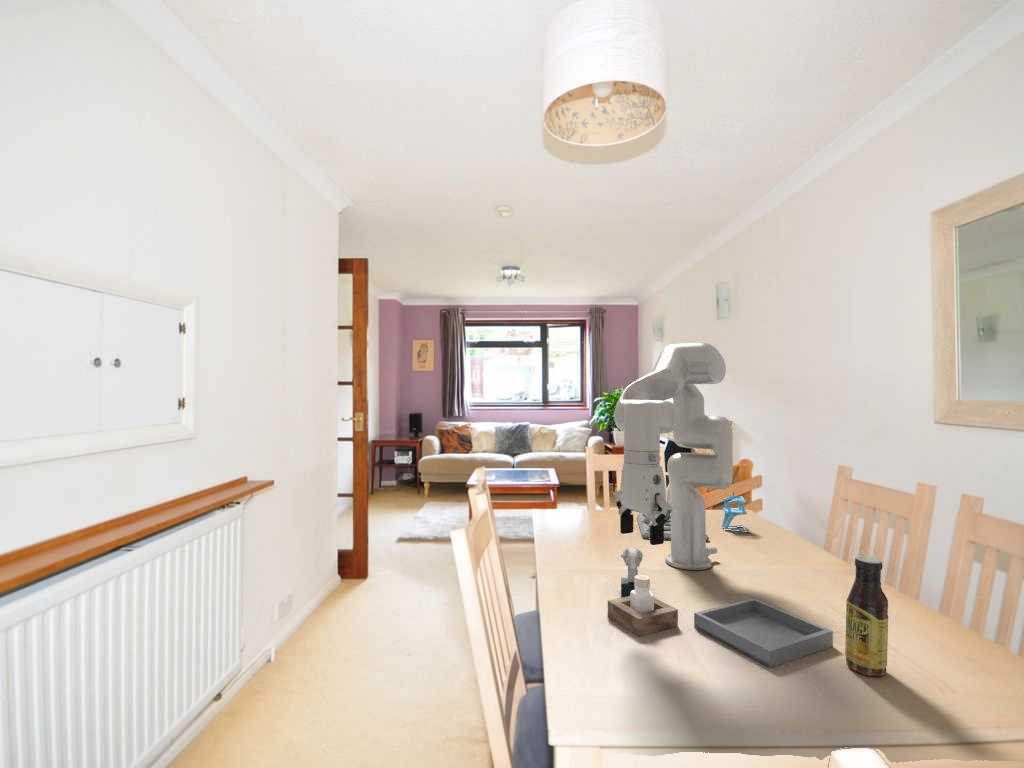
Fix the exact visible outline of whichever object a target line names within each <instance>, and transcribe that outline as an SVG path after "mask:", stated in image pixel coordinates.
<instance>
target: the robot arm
mask: <svg viewBox="0 0 1024 768" xmlns="http://www.w3.org/2000/svg"><path fill="white" fill-rule="evenodd" d="M725 361H726V360H725V359H724V356H723V355H722V354H721V352H720V351H719V350H718V349H717V348H716V347H715V346H714V345H713V344H710V343H706V342H689V343H673V344H669V345H667V346H665V347H664V348H663V349H662V350H661V352H660V353H659V355H658V357H657V360H656V362H655V364H654V366H653V368H652V371H651V373H648V374H646V375H644V376H643V377H640V378H639V379H636V381H633V382H632V383H631V384H629V385H628V386H626V387H625V388H624V389H623V391H622V393H621V394H620V395H619V396H620V397H619V398H618V400H617V403H616V405H615V408H614V413H613V419H614V423H615V426H616V428H618V430H620V431H622V432H623V465H622V470H621V479H620V489H619V490H617V491H615V492H614V498H615V501H616V503H615V504H616V507H617V509H618V515H619V517H620V519H619V520H620V521H619V522H620V527H619V529H620V534H622V535H624V534H625V535H626V534H632V533H634V514H632V512H633V511H634V512H637V513H641V514H648V516H649V518H650V520H651V522H652V524H653V525H650V539H649V544H650V545H651V546H657V545H663V544H664V542H665V540H664V525H666V522H667V520H668V519H669V517H670V516H669V515H671V540H670V553H668V554H666V555H665V557H664V561H665V563H666V564H667V565H668V566H671V567H674V568H677V569H681V570H682V569H683V570H686V571H687V570H689V571H702V570H706V569H710V568H711V567H712V560H711V559H710V558H709V557H710V555H716V554H718V548H717V547H716V546H711V547H710V546H709V547H708V546H706V545H707V543H706V542H707V541H706V535H707V533H706V529H707V528H706V525H707V524H706V520H707V519H706V507H707V506H706V501H705V499H704V496H703V495H702V494H701V492H700V491H699V488H702V489H714V490H727V489H728V488H729V487H731V485H732V481H733V474H734V473H733V471H734V469H733V464H734V462H733V461H734V460H733V459H734V458H733V457H734V456H733V455H734V453H733V452H734V451H733V447H734V445H733V443H734V441H733V440H734V439H733V428H732V427H733V426H732V423H731V421H730V420H729V419H728V418H727V417H725V416H721V415H707V414H705V398H704V395H703V394H702V392H701V391H700V389H699V388H698V386H696V385H717V384H719V383H721V382H722V381H723V380H724V378H725V376H726V373H727V370H726V366H727V365H726V362H725ZM670 399H672V401H673V402H671V401H668V400H670ZM670 433H672V434H673V435H672V437H673V442H674V444H676V446H678V447H680V448H686V449H695V450H696V449H697V450H699V449H700V450H711V451H713V452H714V454H711V453H697V452H678V453H673V455H670V457H669V458H668V460H667V463H666V468H667V469H666V470H667V475H668V481H669V482H668V483H669V490H670V492H669V493H670V502H668V501H667V491H666V482H665V476H664V470H663V467H662V466H661V459H662V458H661V456H660V455H661V452H660V451H661V445H660V444H661V442H660V441H661V439H660V438H661V437H660V435H661V434H662V435H664V434H670ZM655 515H657V516H658V517H657V518H656V517H655Z"/></svg>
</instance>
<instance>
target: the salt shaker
mask: <svg viewBox="0 0 1024 768" xmlns="http://www.w3.org/2000/svg"><path fill="white" fill-rule="evenodd" d="M650 580H651V579H650V576H648V575H645V574H638V575H636V576H635V577H634V586H635V590H632V591H631V592H630V608H631V609H633V610H635V611H637V612H638V613H645V612H649V611H653V610H654V598H655V596H654V593H653V592H651V591H650V586H651V585H650V584H651V582H650Z"/></svg>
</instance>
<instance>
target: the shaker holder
mask: <svg viewBox="0 0 1024 768" xmlns="http://www.w3.org/2000/svg"><path fill="white" fill-rule="evenodd" d="M607 618H609V619H610V620H612V621H614V623H615V622H616V623H617V624H619V626H622V627H623V628H624V629H626V630H628V631H629V632H631V633H633V634H634V635H636V636H638V637H642V636H643V637H644V636H647V635H651V634H654V633H657V632H662V631H666V630H669V629H670V630H671V629H672V628H673V629H674V628H676V627H678V626H679V622H678V621H679V609H677V608H676V607H673V606H671V604H670V605H669V604H668V603H666V602H664V601H662V600H660V599H658V598H657V597H654V610H653V611H649V612H645V613H638V612H637V611H635V610H633V609H631V608H630V596H627V597H618V598H614V599H610V600H607ZM646 634H647V635H646Z"/></svg>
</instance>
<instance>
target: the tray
mask: <svg viewBox="0 0 1024 768" xmlns="http://www.w3.org/2000/svg"><path fill="white" fill-rule="evenodd" d="M693 617H694V619H693V628H695V629H696V630H698V631H701V632H702V633H704V634H706V635H708V636H710V637H712V638H713V639H714V640H715V639H716V640H717V641H718V642H721V643H723V644H725V645H727V646H728V647H730V648H731V649H733V650H736V651H737V652H738V653H742V654H743V655H745V656H747V657H748V658H751V659H753V660H754V661H756V662H758V663H760V664H762V665H764V666H765V667H767V668H769V669H771V668H774V667H776V666H779V665H783V664H785V663H789V662H791V661H794V660H797V659H800V658H803V657H806V656H809V655H813V654H814V653H818V652H821V651H823V650H824V651H825V650H826V649H830V648H832V647H834V639H833V638H834V635H833V634H834V631H833V630H831V629H829V628H826V627H824V626H822V625H820V624H817V623H815V622H812V621H810V620H808V619H806V618H802V617H800V616H798V615H796V614H794V613H790V612H789V611H786V610H784V609H781V608H778V607H776V606H775V605H771V604H770V603H766V602H764V601H762V600H759V599H757V598H755V597H752V598H749V599H745V600H740V601H737V602H733V603H732V602H731V603H729V604H723V605H720V606H717V607H713V608H712V607H711V608H708V609H704V610H699V611H697V612H696V611H695V612H694V613H693Z"/></svg>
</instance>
